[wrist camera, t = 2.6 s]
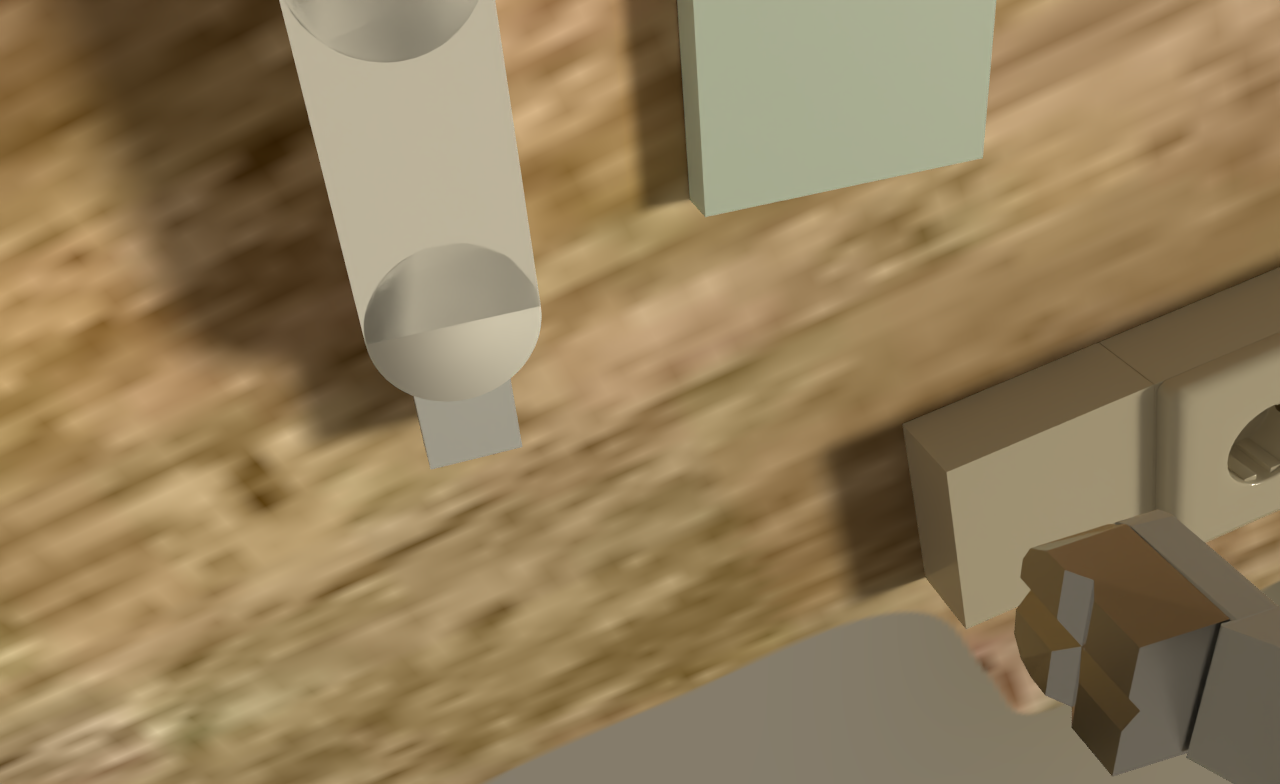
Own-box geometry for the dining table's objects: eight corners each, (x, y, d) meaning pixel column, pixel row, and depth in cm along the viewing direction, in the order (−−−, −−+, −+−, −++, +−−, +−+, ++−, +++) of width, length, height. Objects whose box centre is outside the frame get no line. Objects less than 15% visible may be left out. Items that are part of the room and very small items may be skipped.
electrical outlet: (962, 490, 34) (1476, 271, 36) (896, 417, 37) (1371, 221, 39) (981, 648, 38) (1441, 444, 40) (920, 571, 41) (1348, 386, 43)
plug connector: (239, -173, 23) (241, -148, 20) (435, -197, 24) (468, -177, 21) (387, 423, 31) (406, 509, 28) (530, 389, 32) (565, 469, 29)
